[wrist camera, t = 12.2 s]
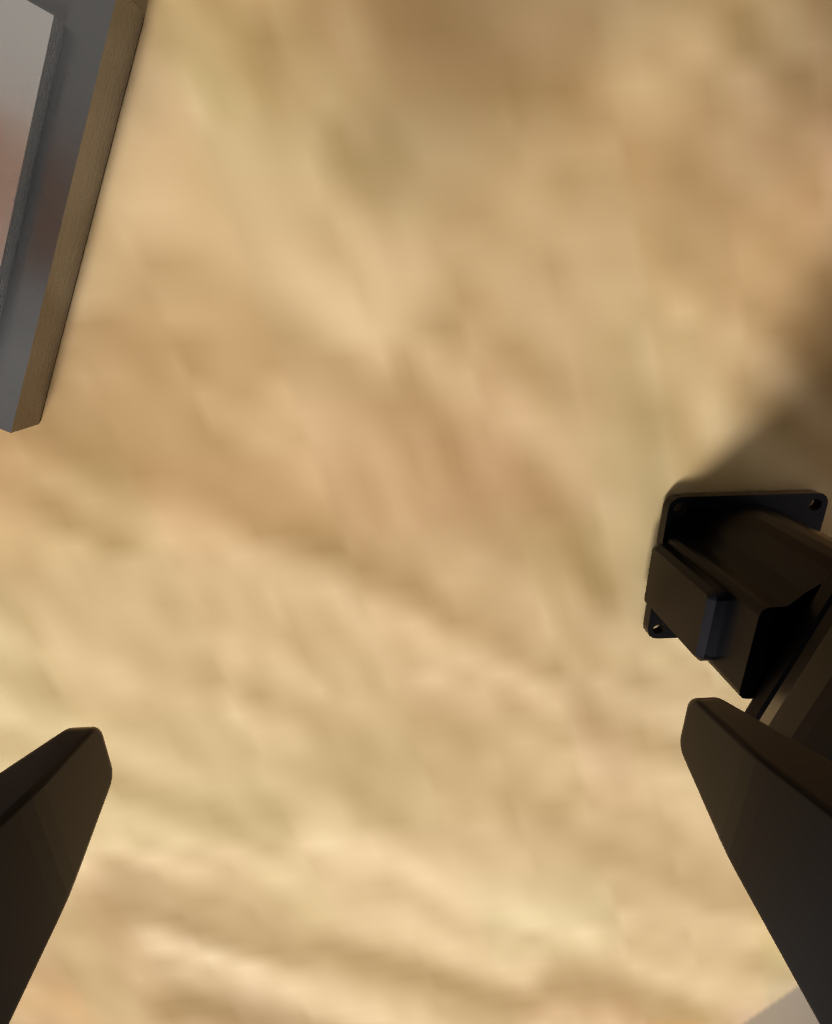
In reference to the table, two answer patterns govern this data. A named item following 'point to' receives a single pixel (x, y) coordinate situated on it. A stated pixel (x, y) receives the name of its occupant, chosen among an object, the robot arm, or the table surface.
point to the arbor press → (51, 172)
